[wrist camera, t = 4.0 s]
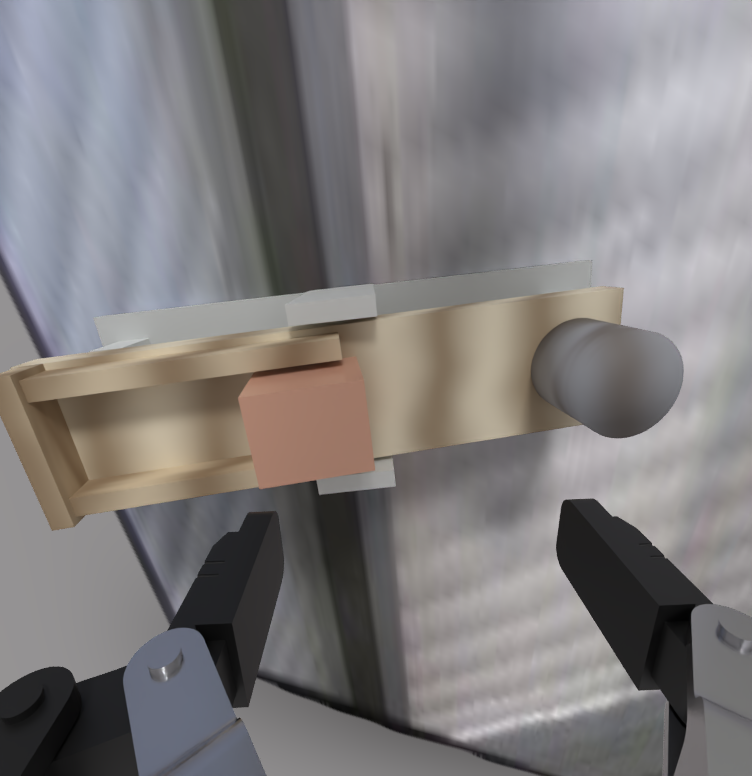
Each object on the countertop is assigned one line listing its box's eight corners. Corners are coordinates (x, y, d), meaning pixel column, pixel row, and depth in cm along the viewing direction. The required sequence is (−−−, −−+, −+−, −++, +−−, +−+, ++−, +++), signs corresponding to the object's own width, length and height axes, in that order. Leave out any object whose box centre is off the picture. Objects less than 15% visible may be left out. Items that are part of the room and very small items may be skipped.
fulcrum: (585, 259, 30) (677, 259, 21) (576, 405, 34) (652, 459, 25) (101, 314, 31) (-9, 338, 22) (147, 452, 35) (69, 521, 26)
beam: (602, 286, 26) (695, 294, 20) (593, 409, 29) (672, 453, 23) (35, 359, 23) (-80, 397, 17) (87, 489, 26) (7, 565, 20)
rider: (356, 356, 24) (363, 379, 19) (365, 431, 25) (375, 470, 20) (255, 370, 23) (237, 397, 18) (271, 445, 25) (259, 489, 20)
